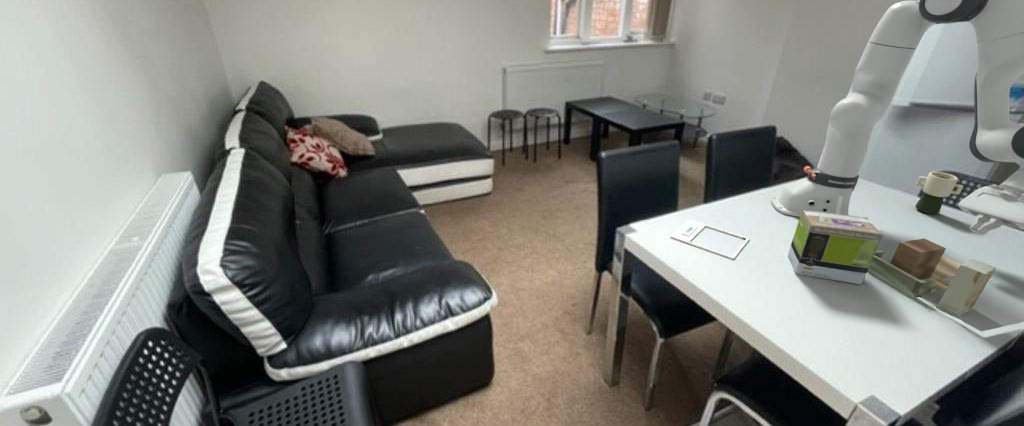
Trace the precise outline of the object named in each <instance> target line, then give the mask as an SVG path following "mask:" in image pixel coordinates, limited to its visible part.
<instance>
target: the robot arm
mask: <svg viewBox="0 0 1024 426" xmlns="http://www.w3.org/2000/svg"><path fill="white" fill-rule="evenodd" d="M964 22H967V23H969V24H970V25H972V27H973V28H974V32H975V36H976V45H977V53H978V55H977V56H978V61H977V62H978V63H977V65H978V66H977V71H976V74H975V77H974V78H975V79H974V87H973V88H974V89H973V91H974V92H973V95H974V100H973V101H974V125H973V130H972V133H971V136H970V138H969V143H968V145H969V147H968V148H969V151H970V153H971V154H972V156H973V157H975V159H976V160H979V161H981V162H984V163H988V164H989V163H990V164H992V163H993V164H995V163H1015V164H1017V165H1018V166H1019V167H1018V170H1016V171H1015V172H1014V173H1012V174H1011V175H1010V176H1009V177H1008V178H1006V180H1004V181H1003V182H1002V183H1000V184H996V183H992V184H990V185H984V186H982V187H979V188H977V189H976V190H974V191H973V192H971V193H970V194H968V195H967V196H966V197H964V198H962V199H961V200H960V201H959V203H958V208H959V209H960V210H961V211H963V212H964V213H966V214H969V215H972V216H976V217H975V220H974V223H972V224H971V225H970V226H969V227H968V228H969V230H970V231H972V233H975V234H980V235H983V236H984V235H985V234H987V233H988V232H989V231H993V230H996V229H998V228H1000V227H1002V226H1004V225H1006V226H1010V227H1013V228H1016V229H1020V230H1023V231H1024V122H1020V123H1013V122H1012V121H1011V119H1010V91H1011V88H1012V86H1013V84H1014V82H1016V80H1018V78H1019V77H1020V76H1021V75H1023V74H1024V0H903V1H899V2H896V3H894V4H892V5H890V6H889V8H888V9H886V11H885V12H884V14H883V15H882V16H881V18H880V20H879V21H878V23H877V25H876V27H874V30H873V32H872V34H871V35H870V37H869V39H868V41H867V44H866V46H865V47H864V50H863V52H862V55H861V57H860V59H859V61H858V63H857V66H856V67H855V70H854V76H853V79H852V83H851V85H850V88H849V91H848V93H847V95H846V97H845V98H843V99H841V100H839V102H836V104H835V105H834V106H833V107H832V109H831V112H830V114H829V122H828V125H827V130H826V136H825V143H824V146H823V148H822V151H821V155H820V158H819V161H818V164H817V166H816V167H814V168H811V166H809V165H806V166H804V167H803V171H804V172H805V173H806V174H807V177H804V178H802V179H799V180H797V181H793V182H791V183H789V184H786V185H784V187H783V189H782V191H781V193H780V194H779V195H773V196H772V197H771V199H770V203H771V205H772V207H773V208H774V209H775V210H776V211H778V212H779V213H781V214H782V215H788V216H794V217H799V218H800V215H801V212H802V210H808V211H817V212H825V213H834V214H841V215H849V207H850V202H851V197H852V194H853V192H854V190H855V188H856V186H857V184H858V181H859V177H860V175H859V173H860V171H861V167H862V166H863V162H864V160H865V159H866V156H867V153H868V147H869V143H870V139H871V136H872V133H873V129H874V127H875V125H876V124H877V123H878V122H879V121H881V120H883V118H884V116H885V115H886V113H887V111H888V109H889V107H890V105H891V102H892V100H893V99H894V95H896V91H897V88H898V86H899V84H900V81H901V79H902V77H903V75H904V73H905V71H906V69H907V67H908V65H909V64H910V61H911V59H912V58H913V56H914V54H915V52H916V50H917V48H918V46H919V44H920V41H921V40H922V38H923V37H924V35H925V34H926V32H927V31H928V30H929V29H930V28H931V27H933V26H934V25H939V24H940V25H941V24H942V25H943V24H944V25H945V24H946V25H948V24H956V23H964Z"/></svg>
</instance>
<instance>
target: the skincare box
mask: <svg viewBox="0 0 1024 426" xmlns="http://www.w3.org/2000/svg"><path fill="white" fill-rule="evenodd" d="M960 264H961V265H960V267H959V268H958V270H957V272H956V274H955V275H954V276H952V279H951V280H950V282H949V283H950V284H949V286H948V288H947V289H945V290H944V291H945V292H944V294H943V295H942V297H941V298H940V300H939V302H938V304H937V306H936V309H937V310H939V311H941V312H943V313H945V314H948V315H950V316H953V317H955V318H957V319H959V317H958V316H960V317H961V316H963V315H964V314H966V313H967V312H969V311H970V310H971V309H972V308H973V307H974V306H975V304H976V302H977V300H978V299H979V297H980V296H981V294H982V293H983V291H984V289H985V287H986V285H987V283H988V282H990V281H989V279H992V276H993V275H994V274H995V271H996V269H997V267H995V266H992V265H990V264H988V263H985V262H982V261H979V260H977V259H974V258H970V259H969V260H966V261H965V262H963V263H960ZM950 312H951V313H950ZM952 313H953V314H952ZM956 315H957V316H956Z"/></svg>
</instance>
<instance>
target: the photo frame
mask: <svg viewBox="0 0 1024 426" xmlns="http://www.w3.org/2000/svg"><path fill="white" fill-rule="evenodd" d="M705 228H708V229H711V230H714V231H717V232H720V233H723V234H727V235H730V236H733V237H736V238H739V239H741V240H743V239H745V240H744V241H743V242H742V244H741V245H740V246H739V247H738V248H737V250H736V251H735V252H734V253H733V255H729V254H726V253H723V252H720V251H717V250H715V249H711V248H708V247H706V246H703V245H701V244H698V243H694V242H692V241H693V240H694V238H695V237H697V236H698V235H699V233H700V232H702V231H703V230H704V229H705ZM670 238H671V239H673V240H676V241H679V242H682V243H685V244H687V245H689V246H692V247H696V248H699V249H701V250H704V251H706V252H710V253H713V254H715V255H719V256H721V257H724V258H728V259H730V260H732V261H733V260H735V258H736V257H737V256H738V255H739V254H740V252H741V251H742V250H743V248H744V247H745V246H746V245H747V243H748V242H749V241H750V238H749V237H746V236H744V235H741V234H737V233H734V232H732V231H728V230H724V229H721V228H718V227H715V226H712V225H710V224H706V223H702V222H699V221H697V220H693V219H688V220H687V221H686V222H685V223H684V224H682V225H681V226H680V227H679V228H678V229H677V230H676V231H675V232H673V234H672V235H670Z"/></svg>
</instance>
